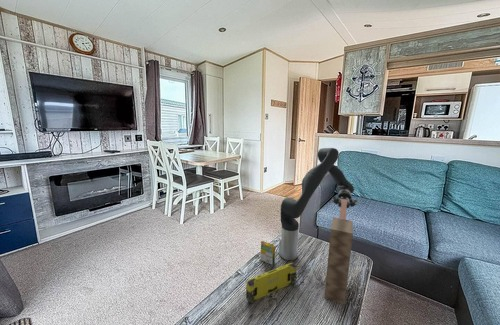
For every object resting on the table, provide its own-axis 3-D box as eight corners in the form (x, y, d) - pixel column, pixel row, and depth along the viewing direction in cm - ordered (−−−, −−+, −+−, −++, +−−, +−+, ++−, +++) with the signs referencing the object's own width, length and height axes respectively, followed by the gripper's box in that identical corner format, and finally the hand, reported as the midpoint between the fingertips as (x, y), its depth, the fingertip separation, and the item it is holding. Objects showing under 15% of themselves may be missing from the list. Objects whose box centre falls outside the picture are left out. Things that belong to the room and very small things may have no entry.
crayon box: (274, 261, 113) (275, 242, 111) (272, 265, 111) (273, 244, 109) (262, 257, 117) (263, 238, 115) (260, 260, 115) (260, 240, 112)
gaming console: (291, 278, 101) (292, 260, 100) (297, 284, 98) (298, 265, 96) (244, 299, 89) (244, 278, 87) (249, 307, 85) (249, 285, 84)
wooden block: (324, 297, 90) (330, 228, 85) (327, 279, 101) (333, 217, 95) (344, 304, 87) (352, 233, 81) (345, 285, 98) (352, 220, 92)
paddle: (331, 241, 103) (331, 238, 101) (336, 201, 121) (336, 198, 119) (349, 245, 100) (349, 242, 98) (351, 204, 118) (352, 200, 116)
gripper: (332, 188, 132) (330, 197, 116) (358, 192, 126) (359, 201, 110) (331, 200, 133) (329, 210, 118) (356, 204, 127) (357, 215, 112)
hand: (343, 206), depth 114 cm, fingers closed on paddle, 3 cm apart
